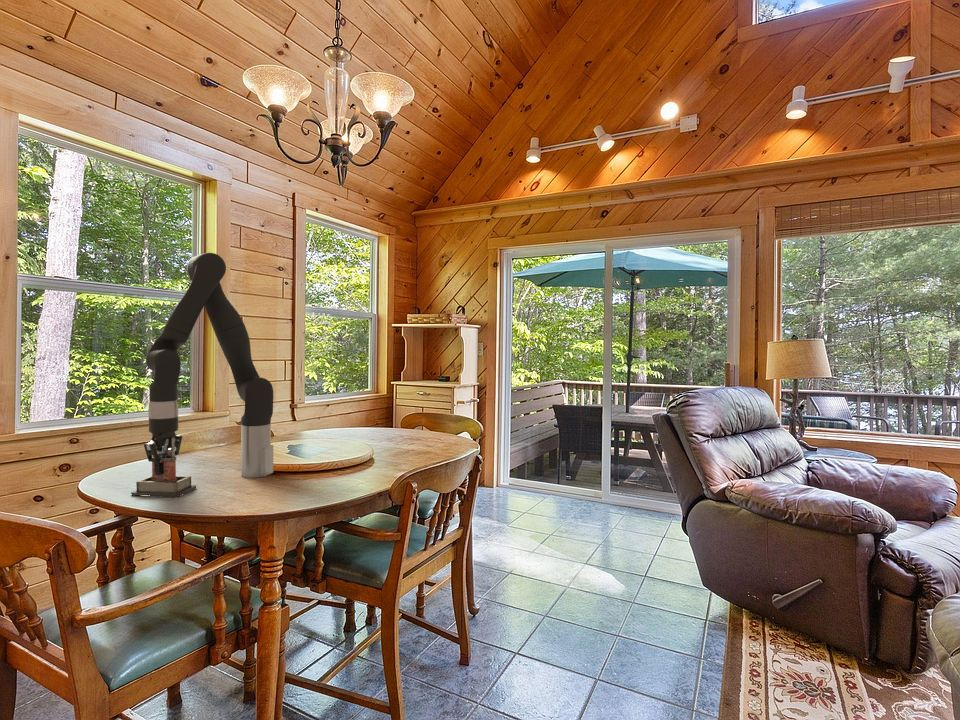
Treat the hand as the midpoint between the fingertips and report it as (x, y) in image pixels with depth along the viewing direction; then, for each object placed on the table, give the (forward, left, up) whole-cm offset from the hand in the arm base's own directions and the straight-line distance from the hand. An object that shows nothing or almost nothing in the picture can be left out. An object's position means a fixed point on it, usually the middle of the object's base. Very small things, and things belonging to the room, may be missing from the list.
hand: (164, 472), depth 154 cm
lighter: (0, 0, -3) cm, 3 cm away
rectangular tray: (0, 0, -6) cm, 6 cm away
